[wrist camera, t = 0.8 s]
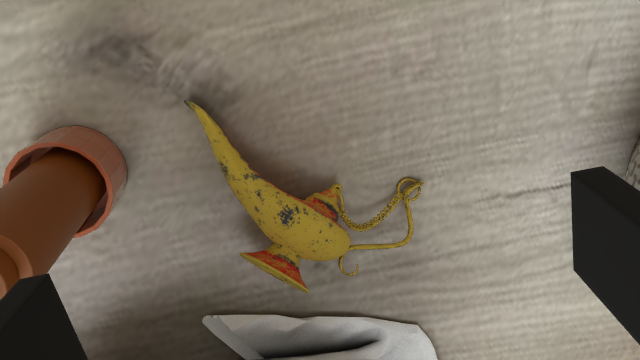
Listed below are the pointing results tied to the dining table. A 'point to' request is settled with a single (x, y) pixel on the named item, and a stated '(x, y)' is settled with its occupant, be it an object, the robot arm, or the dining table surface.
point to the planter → (634, 168)
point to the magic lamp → (293, 214)
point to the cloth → (320, 338)
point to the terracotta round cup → (92, 149)
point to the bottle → (44, 212)
